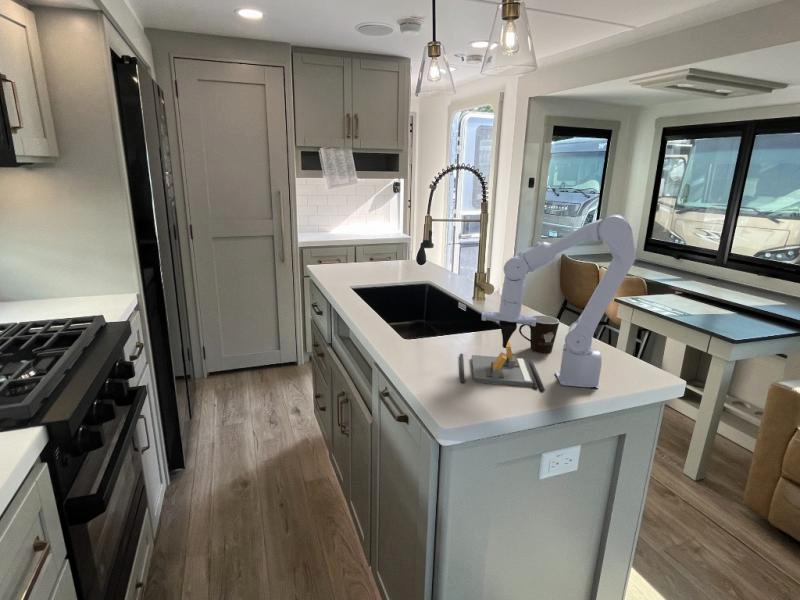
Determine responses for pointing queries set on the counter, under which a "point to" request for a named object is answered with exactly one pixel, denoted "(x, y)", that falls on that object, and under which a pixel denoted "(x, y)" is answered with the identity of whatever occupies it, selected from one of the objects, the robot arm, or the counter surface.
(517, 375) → the breaker panel
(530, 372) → the dark long thin strip
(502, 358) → the breaker lever
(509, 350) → the breaker lever
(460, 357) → the cord far
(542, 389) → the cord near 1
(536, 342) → the coffee mug
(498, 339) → the counter surface
